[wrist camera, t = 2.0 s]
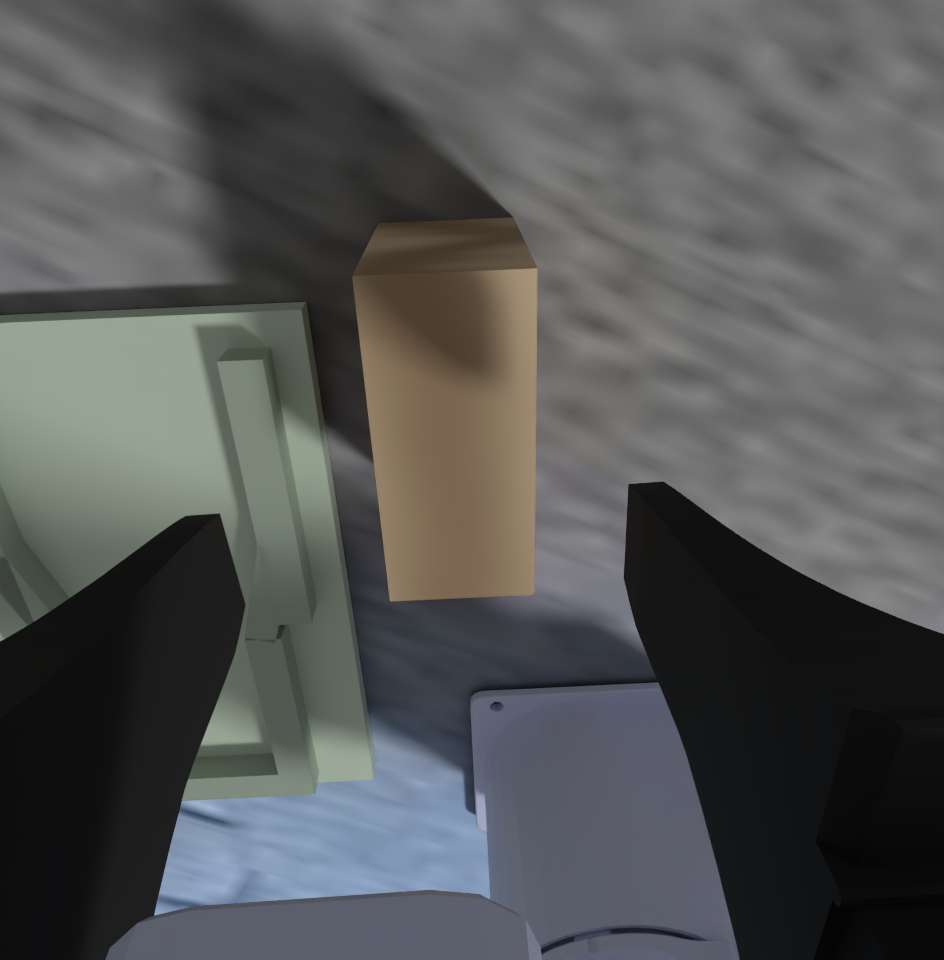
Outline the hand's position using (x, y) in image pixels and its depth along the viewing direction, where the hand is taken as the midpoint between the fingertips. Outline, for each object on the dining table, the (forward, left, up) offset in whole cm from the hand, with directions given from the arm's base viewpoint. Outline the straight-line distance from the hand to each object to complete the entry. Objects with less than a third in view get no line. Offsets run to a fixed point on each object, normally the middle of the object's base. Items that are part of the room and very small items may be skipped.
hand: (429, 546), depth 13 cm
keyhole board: (+9, +8, -9) cm, 16 cm away
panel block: (-1, 0, -10) cm, 10 cm away
